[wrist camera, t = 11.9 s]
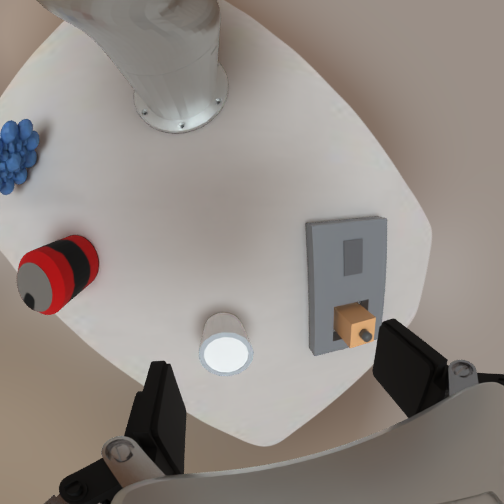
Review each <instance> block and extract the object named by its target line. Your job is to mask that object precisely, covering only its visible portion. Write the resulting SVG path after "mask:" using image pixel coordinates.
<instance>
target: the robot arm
mask: <svg viewBox="0 0 504 504" xmlns="http://www.w3.org/2000/svg"><path fill="white" fill-rule="evenodd" d="M37 1H38V2H39V3H40V4H41V5H42V6H43V7H44V8H46V9H47V10H48V11H50V12H51V13H53V14H55V15H56V16H57V17H59V18H61V19H63V20H65V21H66V22H68V23H70V24H72V25H74V26H75V27H77V28H79V29H80V30H82V31H83V32H85V33H86V34H87V35H89V36H90V37H91V38H92V39H93V40H94V41H95V42H96V43H97V44H98V45H99V46H100V47H101V48H102V49H103V50H104V52H105V53H106V54H107V55H108V56H109V58H110V59H111V60H112V61H113V63H114V64H115V65H116V67H117V68H118V69H119V71H120V72H121V73H122V74H123V76H124V77H125V78H126V79H127V81H128V82H129V83H130V84H131V86H132V87H133V88H134V104H135V107H136V110H137V112H138V114H139V115H140V117H141V118H142V119H143V120H144V121H145V122H146V123H147V124H148V125H150V126H151V127H153V128H155V129H157V130H159V131H163V132H166V133H185V132H189V131H193V130H196V129H198V128H200V127H202V126H204V125H205V124H207V123H208V122H210V121H211V120H212V119H213V118H214V117H215V116H216V115H217V114H218V113H219V112H220V110H221V109H222V108H223V105H224V103H225V101H226V98H227V94H228V78H227V75H226V72H225V70H224V68H223V67H222V65H221V64H220V63H219V62H218V47H219V33H220V22H221V14H220V8H219V5H218V2H217V0H37ZM217 102H219V103H220V104H216V103H217ZM146 112H147V113H148V114H147V115H145V113H146ZM182 125H184V126H185V127H184V128H181V126H182ZM373 375H374V377H375V378H376V379H377V381H378V382H379V383H380V384H381V385H382V386H383V388H384V389H385V390H386V391H387V392H388V394H389V395H390V396H391V397H392V399H393V400H394V401H395V402H396V403H397V405H398V406H399V407H400V408H401V409H402V411H403V412H404V413H405V414H406V415H407V417H408V419H406V420H404V421H402V422H400V423H397V424H395V425H393V426H391V427H389V428H386V429H384V430H382V431H379V432H377V433H374V434H372V435H369V436H367V437H364V438H362V439H359V440H356V441H353V442H351V443H348V444H345V445H342V446H339V447H336V448H333V449H329V450H326V451H323V452H319V453H316V454H312V455H308V456H304V457H300V458H296V459H292V460H288V461H283V462H278V463H273V464H268V465H262V466H256V467H249V468H242V469H235V470H226V471H217V472H204V473H192V474H184V452H185V431H186V408H185V405H184V402H183V400H182V397H181V394H180V391H179V388H178V385H177V382H176V379H175V376H174V373H173V370H172V367H171V365H170V364H166V362H165V361H152V362H151V365H150V368H149V371H148V375H147V378H146V382H145V385H144V389H143V391H142V392H141V391H140V392H137V393H136V396H135V399H134V403H133V406H132V410H131V413H130V417H129V420H128V424H127V427H126V431H125V435H124V436H119V437H114V438H111V439H110V440H108V441H107V442H106V443H105V444H104V445H103V447H102V451H101V454H102V457H103V458H101V459H100V460H98V461H96V462H94V463H92V464H90V465H89V466H87V467H85V468H83V469H81V470H79V471H77V472H75V473H73V474H71V475H69V476H67V477H66V478H64V479H63V480H62V482H61V483H60V486H59V492H60V494H59V495H58V496H57V497H56V496H55V495H53V496H52V497H51V498H50V499H49V500H48V501H46V502H45V503H44V504H504V375H503V374H486V373H477V372H476V368H475V366H474V365H473V364H472V363H470V362H469V361H465V360H456V361H453V362H452V363H450V365H449V366H448V365H447V359H446V358H444V357H443V356H442V355H441V354H440V353H438V352H437V351H436V350H434V349H433V348H432V347H431V346H429V345H428V344H427V343H426V342H424V341H423V340H422V339H420V338H419V337H418V336H416V335H415V334H414V333H413V332H411V331H410V330H409V329H407V328H406V327H405V326H404V325H402V324H401V323H400V322H398V321H397V320H396V319H390V320H387V321H384V322H382V325H381V326H380V327H379V332H378V340H377V347H376V353H375V359H374V365H373Z"/></svg>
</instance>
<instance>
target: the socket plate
mask: <svg viewBox="0 0 504 504" xmlns="http://www.w3.org/2000/svg"><path fill="white" fill-rule="evenodd" d="M306 239H307V258H308V284H309V348H310V350H311V351H312V353H313V355H314V356H317V355H321V354H325V353H329V352H333V351H337V350H341V349H345V348H348V347H349V346H348V345H347V344H346V343H345V342H344V341H343V339H342V338H341V337H340V336H339V335H338V333H337V332H333V324H334V307H336V306H340V305H345V304H350V303H354V302H358V301H361V306H362V307H364V308H365V309H366V310H367V311H369V312H370V313H371V314H372V315H374V316H375V317H376V322H375V332H374V340H376V339H378V332H379V327H380V326H381V324H382V315H383V306H384V294H385V280H386V260H387V218H383V217H366V218H356V219H345V220H335V221H325V222H315V223H306Z"/></svg>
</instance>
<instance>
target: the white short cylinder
mask: <svg viewBox="0 0 504 504" xmlns="http://www.w3.org/2000/svg"><path fill="white" fill-rule="evenodd" d="M253 353H254V352H253V349H252V346H251V343H250V341H249V339H248V336H247V334H246V332H245V330H244V328H243V325H242V323H241V321H240V320H239V319H238V318H237V317H236V316H235V315H232V314H230V313H223V312H221V313H218V314H214V315H213V316H211V317H210V318H209V319H208V320H207V322H206V324H205V327H204V331H203V335H202V339H201V344H200V348H199V359H200V362H201V364H202V366H203V367H204V368H205V369H207V370H208V371H209V372H211V373H213V374H216V375H219V376H232V375H235V374H239V373H241V372H242V371H244V370H245V369H247V368H248V366H249V365H250V363H251V362H252V359H253Z"/></svg>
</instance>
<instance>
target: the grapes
mask: <svg viewBox="0 0 504 504" xmlns="http://www.w3.org/2000/svg"><path fill="white" fill-rule="evenodd" d="M32 130H33V124H32V123H31V121H30V120H28V119H24V120H22V121H20V122H19V124H18V125H17V124H16V122H14V121H12V120H11V121H8V122H6V123H5V124H4V125H3V127H2V129H1V133H0V136H1V139H0V192H1V193H2V194H4V195H8V194H10V193H11V192H12V191H13V189H14V183H15V184H18V185H19V184H22V183H24V182H25V180H26V178H27V169H26V168H29V167H32V166H33V165H34V164H35V162H36V159H37V155H36V152H35V150H34V149H35V148H36V147H37V146H38V144H39V135H38V133H37V132H36V131H32ZM25 167H26V168H25Z"/></svg>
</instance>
